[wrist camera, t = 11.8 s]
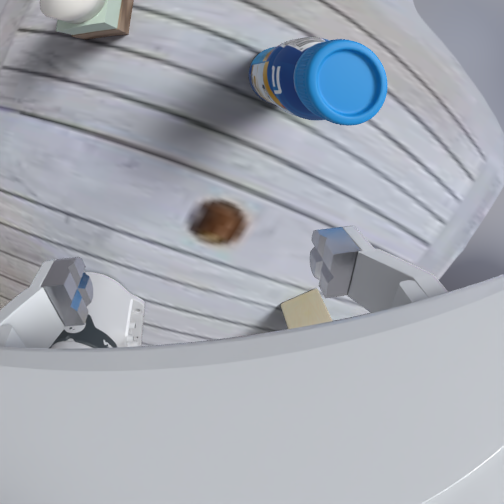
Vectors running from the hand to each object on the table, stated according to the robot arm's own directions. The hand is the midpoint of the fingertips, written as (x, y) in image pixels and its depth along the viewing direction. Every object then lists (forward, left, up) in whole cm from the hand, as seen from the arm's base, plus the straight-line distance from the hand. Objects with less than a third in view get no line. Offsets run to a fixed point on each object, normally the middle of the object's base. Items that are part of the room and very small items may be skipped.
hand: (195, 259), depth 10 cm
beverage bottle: (+7, -10, -31) cm, 34 cm away
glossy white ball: (+15, +13, -21) cm, 29 cm away
